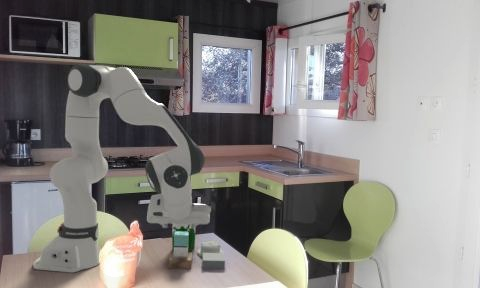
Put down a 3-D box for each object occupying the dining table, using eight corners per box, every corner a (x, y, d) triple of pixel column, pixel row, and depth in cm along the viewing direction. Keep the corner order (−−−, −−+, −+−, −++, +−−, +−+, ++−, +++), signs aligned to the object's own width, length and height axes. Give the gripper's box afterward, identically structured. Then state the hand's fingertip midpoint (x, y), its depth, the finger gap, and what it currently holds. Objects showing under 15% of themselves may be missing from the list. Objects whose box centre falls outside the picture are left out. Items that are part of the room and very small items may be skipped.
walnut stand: (168, 268, 154) (168, 259, 154) (170, 259, 162) (170, 252, 162) (191, 268, 155) (191, 260, 155) (192, 260, 163) (192, 252, 163)
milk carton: (169, 250, 172) (170, 201, 170) (177, 243, 181) (178, 196, 179) (190, 253, 170) (191, 203, 168) (197, 246, 179) (199, 198, 177)
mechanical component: (194, 257, 167) (219, 260, 165) (194, 246, 166) (219, 249, 164) (201, 249, 176) (225, 251, 174) (201, 238, 176) (225, 241, 174)
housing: (173, 258, 156) (174, 235, 155) (174, 253, 160) (175, 231, 160) (187, 258, 156) (188, 235, 156) (188, 254, 161) (188, 231, 160)
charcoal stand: (202, 268, 155) (202, 260, 155) (202, 260, 163) (203, 252, 163) (224, 268, 156) (224, 260, 155) (224, 260, 164) (224, 253, 163)
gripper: (211, 196, 137) (210, 218, 148) (146, 195, 136) (150, 217, 147) (211, 214, 133) (210, 235, 144) (143, 212, 132) (148, 234, 143)
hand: (179, 226), depth 145 cm, fingers open, 8 cm apart
